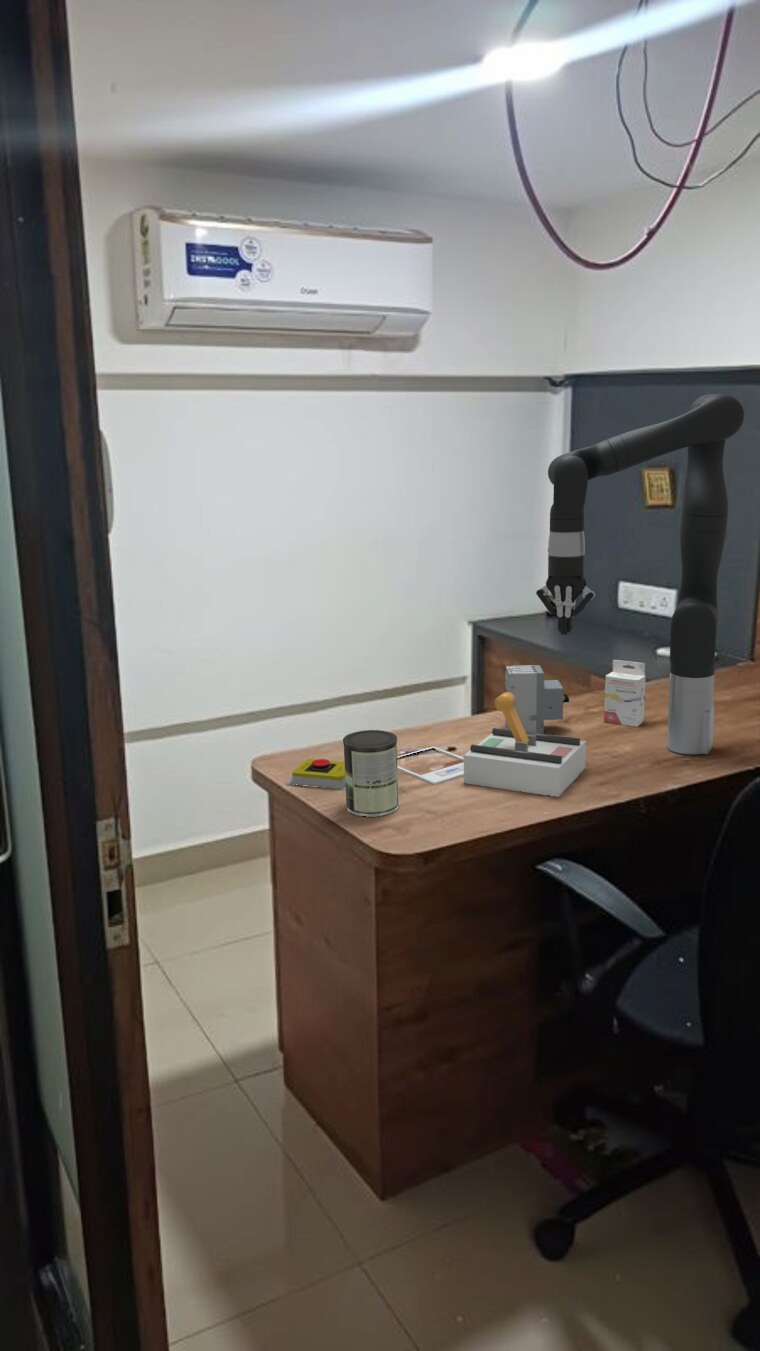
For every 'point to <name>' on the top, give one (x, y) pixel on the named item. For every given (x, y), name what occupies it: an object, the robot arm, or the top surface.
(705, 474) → the robot arm
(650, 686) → the top surface
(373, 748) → the coffee can
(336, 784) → the emergency button
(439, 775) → the photo frame
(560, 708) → the circuit breaker
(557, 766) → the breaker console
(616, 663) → the ink cartridge box
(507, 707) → the lever
